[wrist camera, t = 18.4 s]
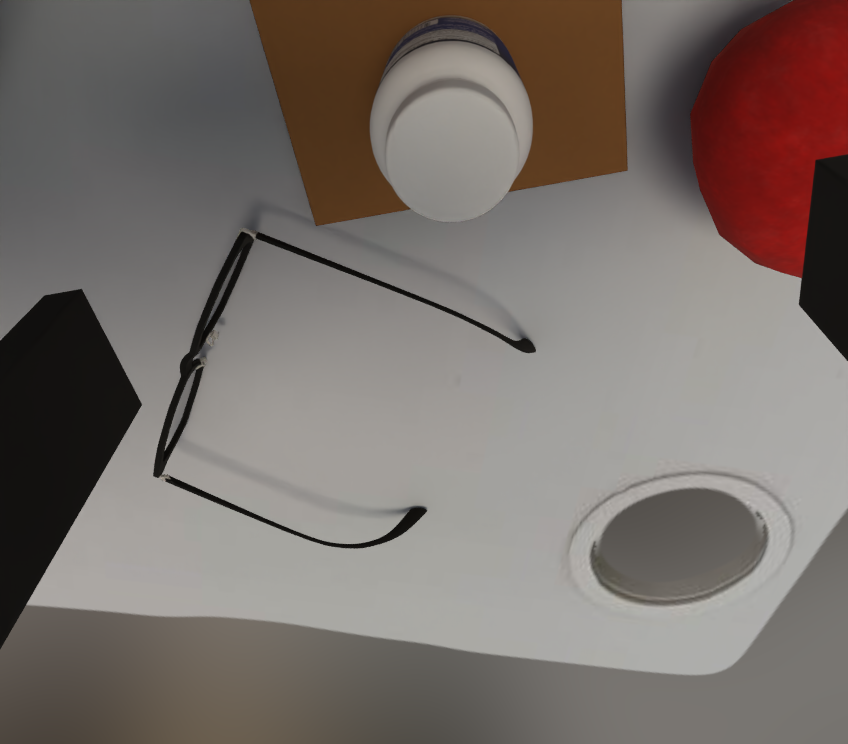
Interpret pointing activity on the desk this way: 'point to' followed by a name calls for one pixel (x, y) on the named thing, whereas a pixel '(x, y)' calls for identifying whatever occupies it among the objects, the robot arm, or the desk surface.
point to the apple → (772, 127)
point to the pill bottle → (451, 119)
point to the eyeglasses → (201, 336)
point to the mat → (365, 63)
